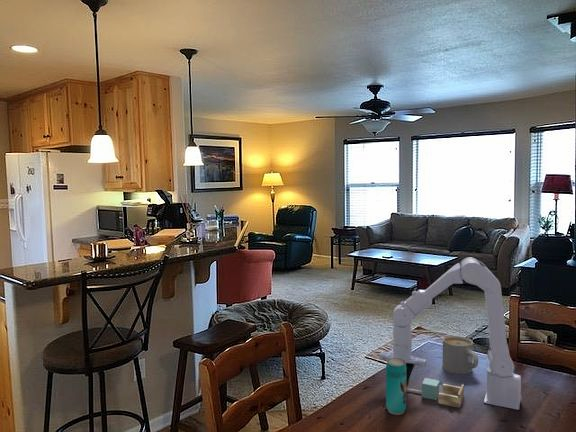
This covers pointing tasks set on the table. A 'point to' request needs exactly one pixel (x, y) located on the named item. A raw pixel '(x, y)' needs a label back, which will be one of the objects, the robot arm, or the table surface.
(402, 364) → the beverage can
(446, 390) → the wooden bracket
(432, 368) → the table surface
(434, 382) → the tethered block
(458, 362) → the coffee mug
